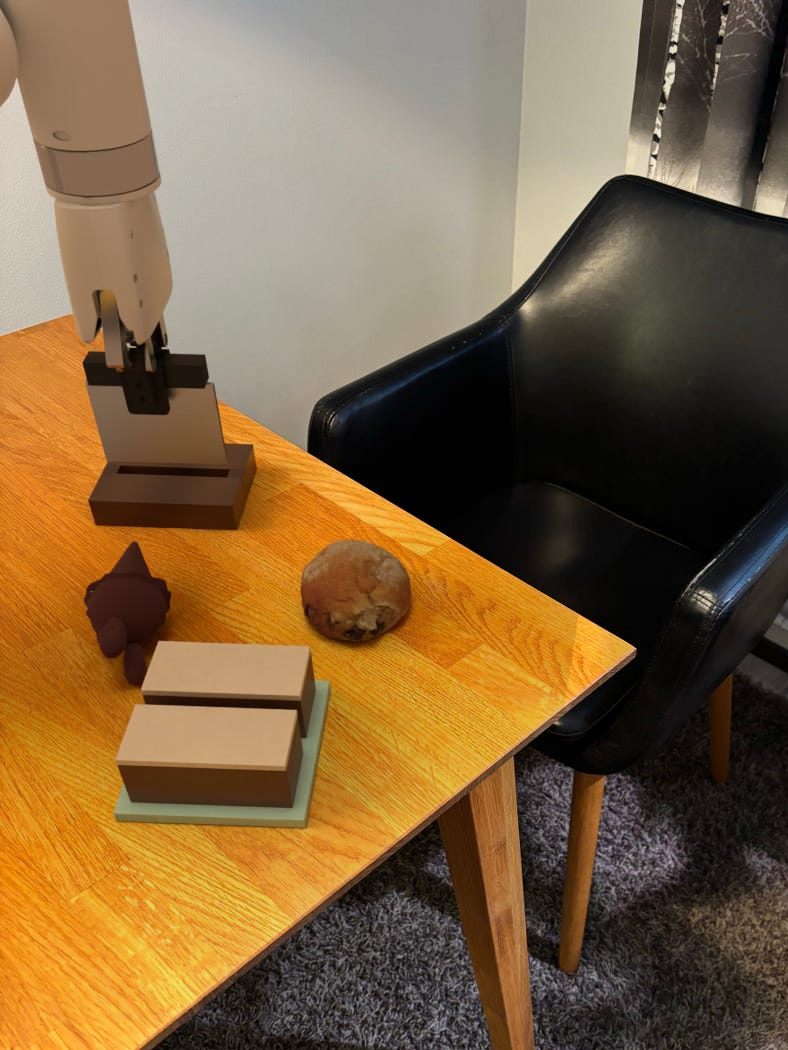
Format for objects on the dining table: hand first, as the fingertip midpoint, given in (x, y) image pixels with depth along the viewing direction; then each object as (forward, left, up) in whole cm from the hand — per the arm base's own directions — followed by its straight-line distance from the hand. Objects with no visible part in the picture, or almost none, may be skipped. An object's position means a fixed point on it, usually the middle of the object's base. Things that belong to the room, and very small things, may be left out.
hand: (153, 402), depth 80 cm
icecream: (-4, -7, -19) cm, 21 cm away
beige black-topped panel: (0, 0, -6) cm, 6 cm away
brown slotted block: (-5, +13, -19) cm, 24 cm away
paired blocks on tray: (+7, -20, -19) cm, 28 cm away
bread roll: (+15, -3, -19) cm, 25 cm away
